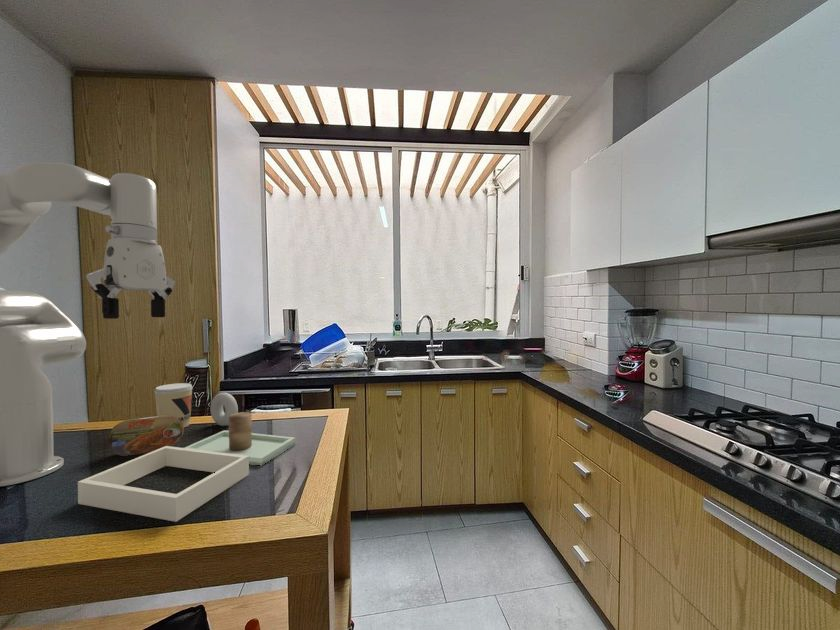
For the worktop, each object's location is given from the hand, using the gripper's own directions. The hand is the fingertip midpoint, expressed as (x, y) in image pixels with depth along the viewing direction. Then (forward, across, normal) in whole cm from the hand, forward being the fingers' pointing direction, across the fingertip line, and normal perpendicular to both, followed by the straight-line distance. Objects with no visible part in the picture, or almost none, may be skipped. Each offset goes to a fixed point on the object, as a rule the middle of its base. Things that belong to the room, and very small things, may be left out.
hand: (136, 317), depth 74 cm
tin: (+34, +10, +10) cm, 36 cm away
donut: (+34, +30, +6) cm, 45 cm away
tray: (+33, +16, -12) cm, 39 cm away
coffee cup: (+34, +26, +20) cm, 47 cm away
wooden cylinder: (+32, +16, -12) cm, 38 cm away
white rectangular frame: (+33, -3, -12) cm, 36 cm away
